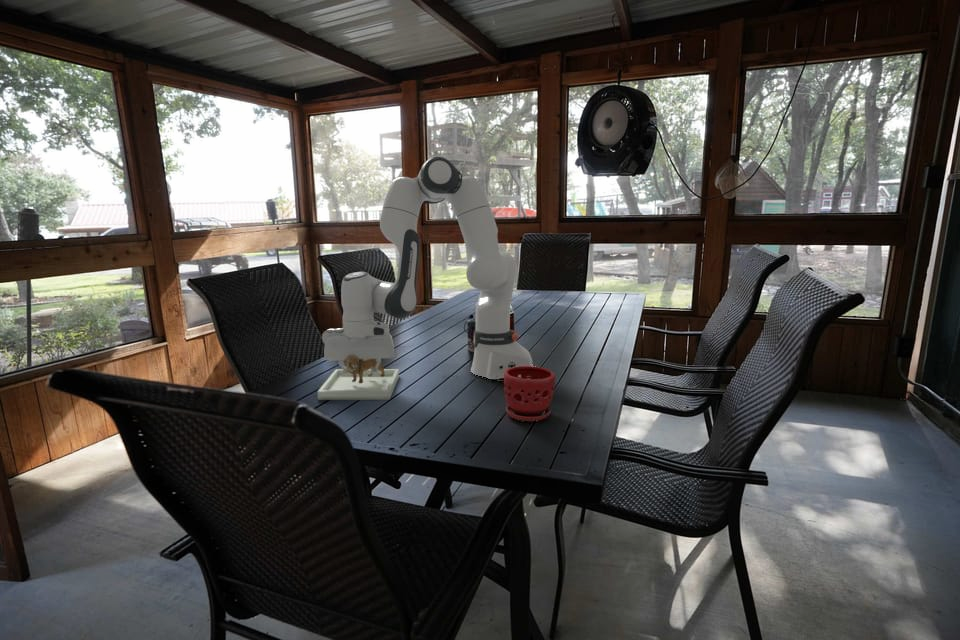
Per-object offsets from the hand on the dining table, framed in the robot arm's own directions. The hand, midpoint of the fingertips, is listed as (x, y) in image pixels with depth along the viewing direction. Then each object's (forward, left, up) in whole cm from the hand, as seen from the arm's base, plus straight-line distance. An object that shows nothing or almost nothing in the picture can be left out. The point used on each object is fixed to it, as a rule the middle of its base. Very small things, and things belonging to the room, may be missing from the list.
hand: (360, 373), depth 154 cm
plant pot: (-48, +21, -5) cm, 53 cm away
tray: (0, 0, -5) cm, 5 cm away
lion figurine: (-1, -1, -3) cm, 3 cm away
